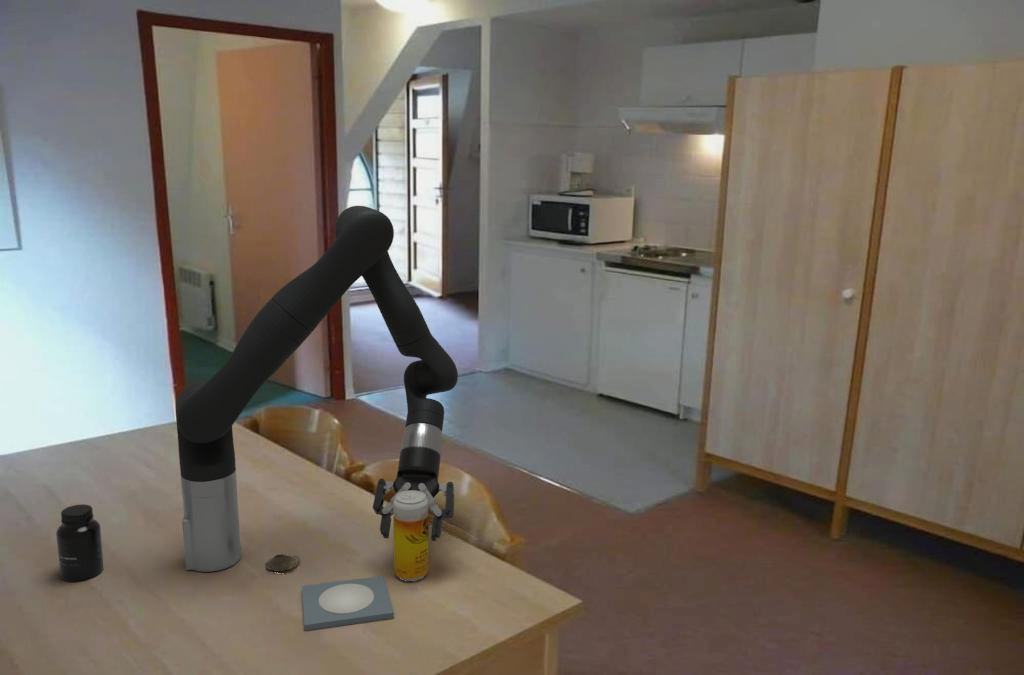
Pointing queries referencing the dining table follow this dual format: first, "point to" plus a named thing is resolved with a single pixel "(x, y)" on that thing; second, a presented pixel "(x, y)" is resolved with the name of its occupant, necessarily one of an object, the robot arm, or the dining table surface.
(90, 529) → the supplement bottle
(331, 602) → the board
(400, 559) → the beer can
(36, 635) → the dining table surface
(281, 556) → the decorative disc
